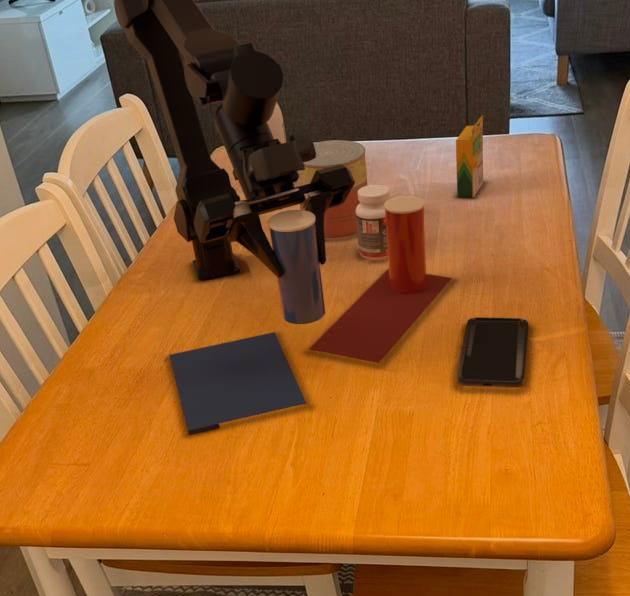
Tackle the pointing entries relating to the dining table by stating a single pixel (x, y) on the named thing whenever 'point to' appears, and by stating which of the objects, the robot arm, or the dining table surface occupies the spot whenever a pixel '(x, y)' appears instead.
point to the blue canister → (298, 266)
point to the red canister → (406, 244)
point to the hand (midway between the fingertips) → (302, 269)
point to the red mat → (377, 320)
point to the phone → (493, 352)
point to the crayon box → (470, 160)
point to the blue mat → (234, 381)
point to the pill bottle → (372, 221)
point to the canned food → (344, 216)
